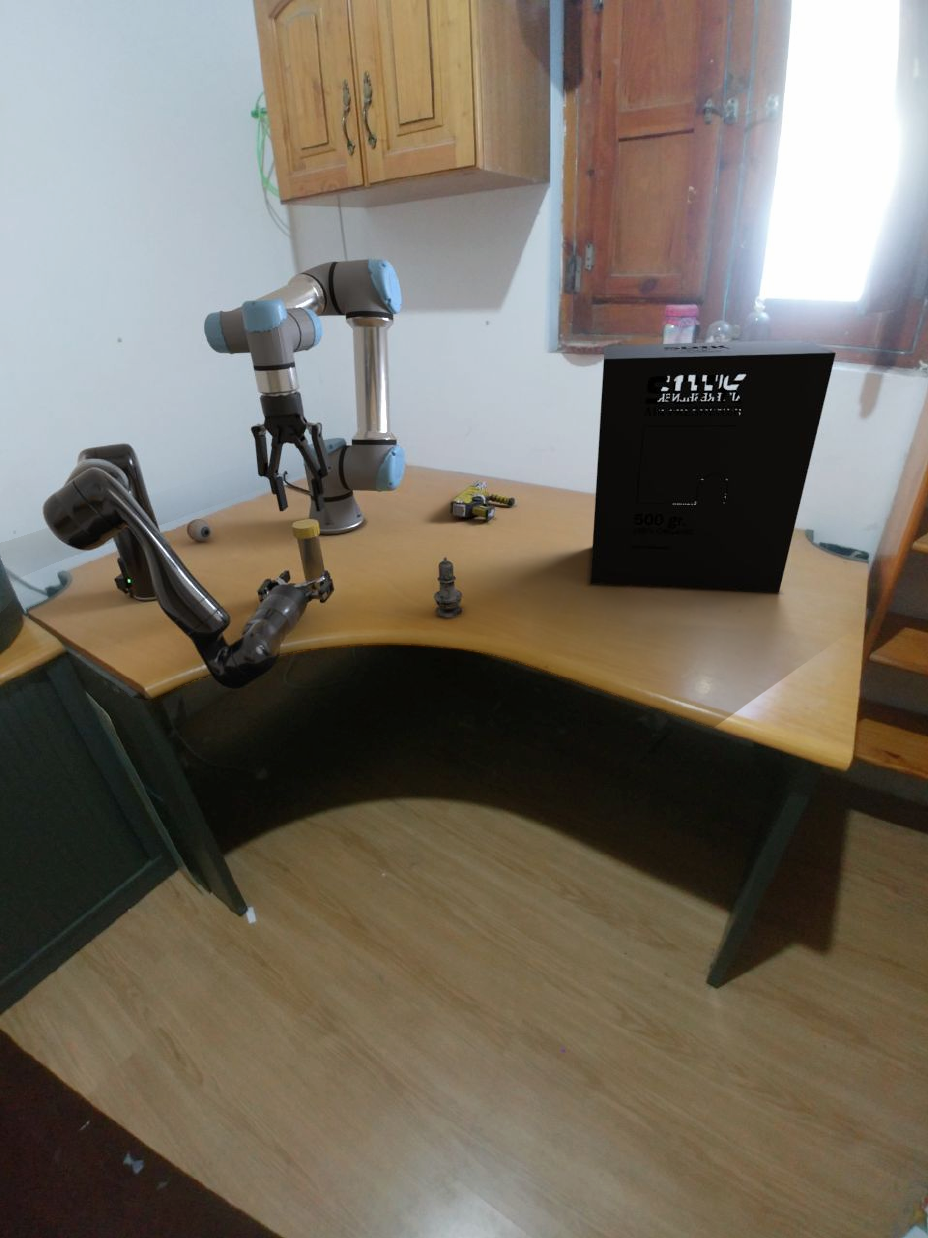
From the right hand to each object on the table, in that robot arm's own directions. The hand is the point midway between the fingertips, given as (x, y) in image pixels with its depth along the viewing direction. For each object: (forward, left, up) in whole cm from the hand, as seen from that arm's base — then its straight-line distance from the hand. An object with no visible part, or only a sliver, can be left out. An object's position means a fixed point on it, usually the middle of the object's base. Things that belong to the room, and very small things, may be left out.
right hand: (302, 508), depth 124 cm
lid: (0, 0, -4) cm, 4 cm away
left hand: (+3, -3, -13) cm, 14 cm away
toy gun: (-16, +61, -19) cm, 66 cm away
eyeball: (-50, -11, -19) cm, 55 cm away
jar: (0, 0, -19) cm, 19 cm away
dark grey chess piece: (+27, +17, -19) cm, 37 cm away
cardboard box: (+45, +67, -19) cm, 83 cm away
